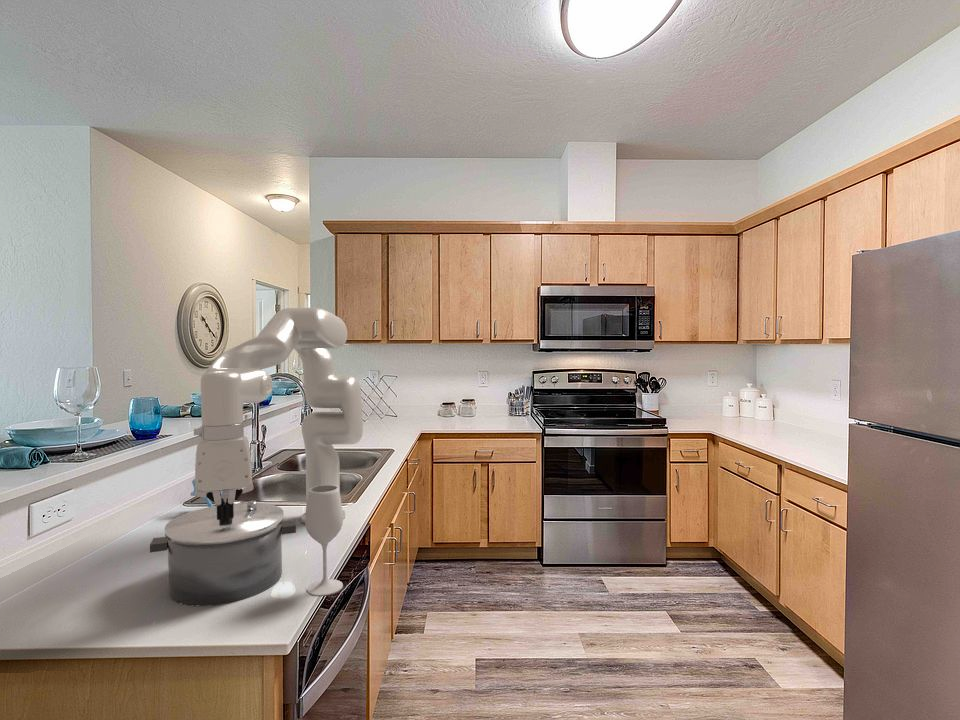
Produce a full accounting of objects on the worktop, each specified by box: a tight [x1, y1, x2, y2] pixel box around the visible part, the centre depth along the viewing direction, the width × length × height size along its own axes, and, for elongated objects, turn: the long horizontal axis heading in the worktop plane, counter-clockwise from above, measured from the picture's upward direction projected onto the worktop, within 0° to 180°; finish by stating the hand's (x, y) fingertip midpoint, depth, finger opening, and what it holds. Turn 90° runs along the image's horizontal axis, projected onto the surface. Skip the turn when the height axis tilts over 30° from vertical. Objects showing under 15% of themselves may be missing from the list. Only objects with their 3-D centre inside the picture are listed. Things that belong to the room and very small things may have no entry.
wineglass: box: [304, 485, 344, 597], centre depth 110 cm, size 8×8×21 cm
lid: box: [164, 500, 284, 545], centre depth 114 cm, size 25×23×4 cm
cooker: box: [149, 519, 297, 607], centre depth 114 cm, size 22×28×12 cm
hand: (225, 522), depth 106 cm, fingers closed
